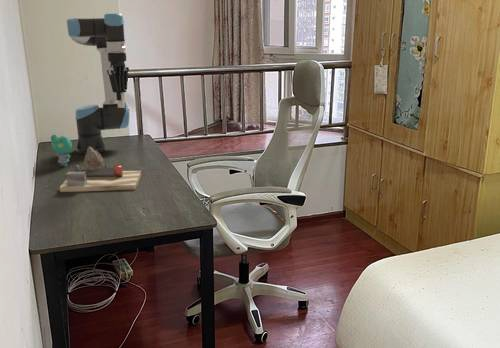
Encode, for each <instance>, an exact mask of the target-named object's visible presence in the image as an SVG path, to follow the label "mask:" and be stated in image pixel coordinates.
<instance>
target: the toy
mask: <svg viewBox="0 0 500 348" xmlns="http://www.w3.org/2000/svg"><path fill="white" fill-rule="evenodd" d="M50 142H51V148H52V150H53V151H54V152H55V153H56V154H55V155H56V157H58V161H57V163H58V164H60V167H64V168H65V167H68V162H70V159H71V155H70V154H71V153H70V152H71V150H72V148H73V143H72V141H71V139H69V138H68V137H66V136H65V135H62V136H57V135H56V134H52V135H51V136H50Z"/></svg>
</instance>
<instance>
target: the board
mask: <svg viewBox="0 0 500 348" xmlns="http://www.w3.org/2000/svg"><path fill="white" fill-rule="evenodd" d="M104 168H109V166H108V164H105V165H104ZM73 170H74V171H67V173H65V180H64V181H63V183H62V184H61V185H60V186H59V192H60V193H66V192H67V193H68V192H69V193H73V192H95V191H96V192H98V191H99V192H100V191H102V192H103V191H125V190H126V191H127V190H128V191H129V190H131V191H133V190H137V187H138V184H139V182H140V179H141V177H142V170H123V176H121V177H86V172H80V165H79V164H74V165H73Z"/></svg>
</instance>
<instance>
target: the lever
mask: <svg viewBox="0 0 500 348" xmlns="http://www.w3.org/2000/svg"><path fill="white" fill-rule="evenodd" d="M79 171H80V172H86V177H121V176H123V171H124V170H123V165H122V164H115V165H113V167H108V168H105V167H104V168H83V167H82V168H79Z"/></svg>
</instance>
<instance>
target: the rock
mask: <svg viewBox="0 0 500 348" xmlns="http://www.w3.org/2000/svg"><path fill="white" fill-rule="evenodd" d="M84 155H85V156H84V161H83V164H82V168H105V165H106V163H105V160H104V158H103V156H102V154H101V153H98V152H97V151H96V150H94V149H93V148H92V147H88V149H87V152H86V154H84Z"/></svg>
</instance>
